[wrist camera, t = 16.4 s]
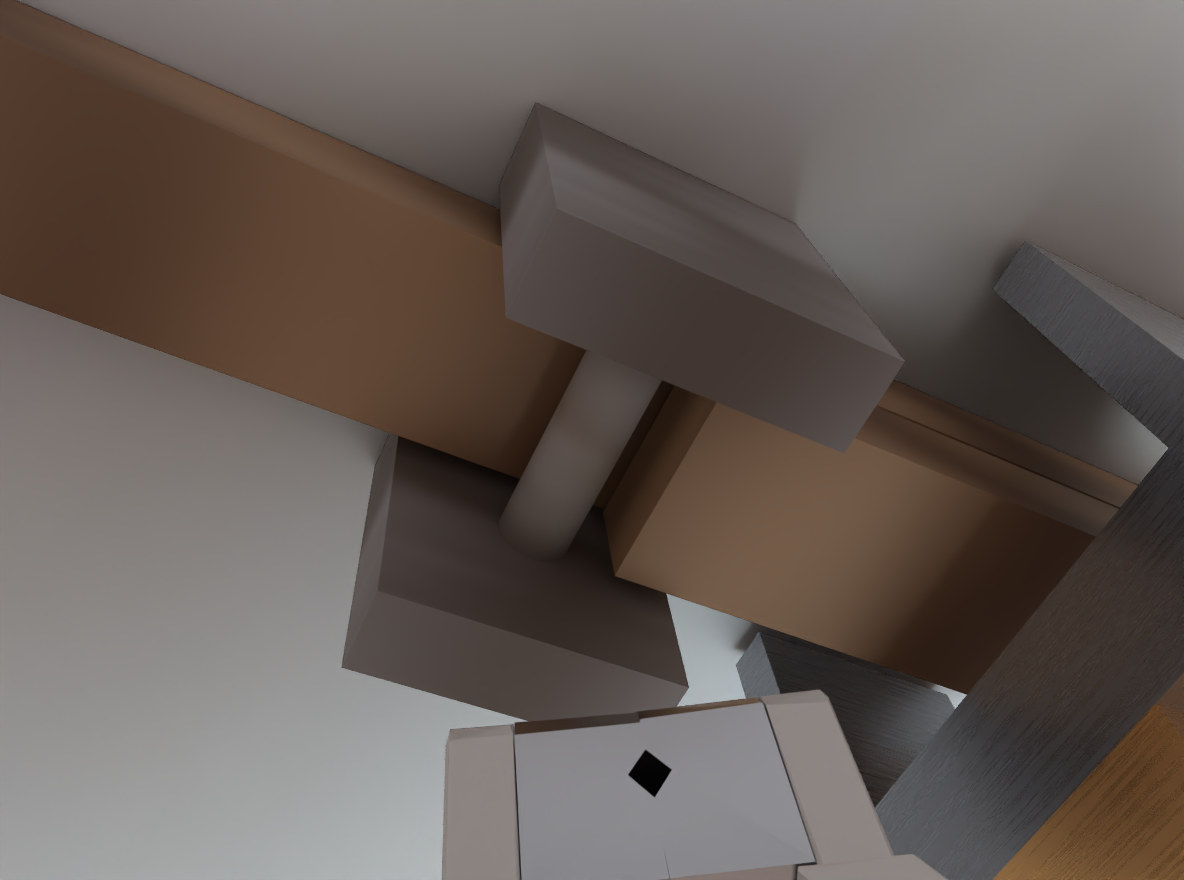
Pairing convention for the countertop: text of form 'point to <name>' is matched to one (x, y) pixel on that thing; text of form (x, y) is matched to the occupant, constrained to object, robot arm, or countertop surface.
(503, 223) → the arm
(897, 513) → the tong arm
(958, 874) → the lock slider
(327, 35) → the countertop surface
